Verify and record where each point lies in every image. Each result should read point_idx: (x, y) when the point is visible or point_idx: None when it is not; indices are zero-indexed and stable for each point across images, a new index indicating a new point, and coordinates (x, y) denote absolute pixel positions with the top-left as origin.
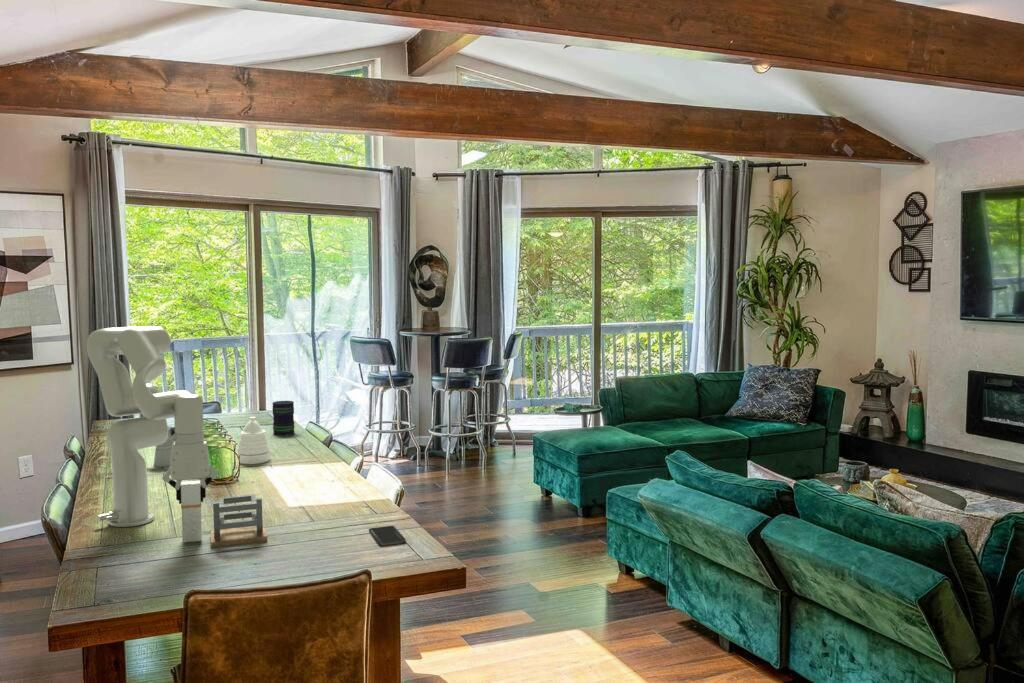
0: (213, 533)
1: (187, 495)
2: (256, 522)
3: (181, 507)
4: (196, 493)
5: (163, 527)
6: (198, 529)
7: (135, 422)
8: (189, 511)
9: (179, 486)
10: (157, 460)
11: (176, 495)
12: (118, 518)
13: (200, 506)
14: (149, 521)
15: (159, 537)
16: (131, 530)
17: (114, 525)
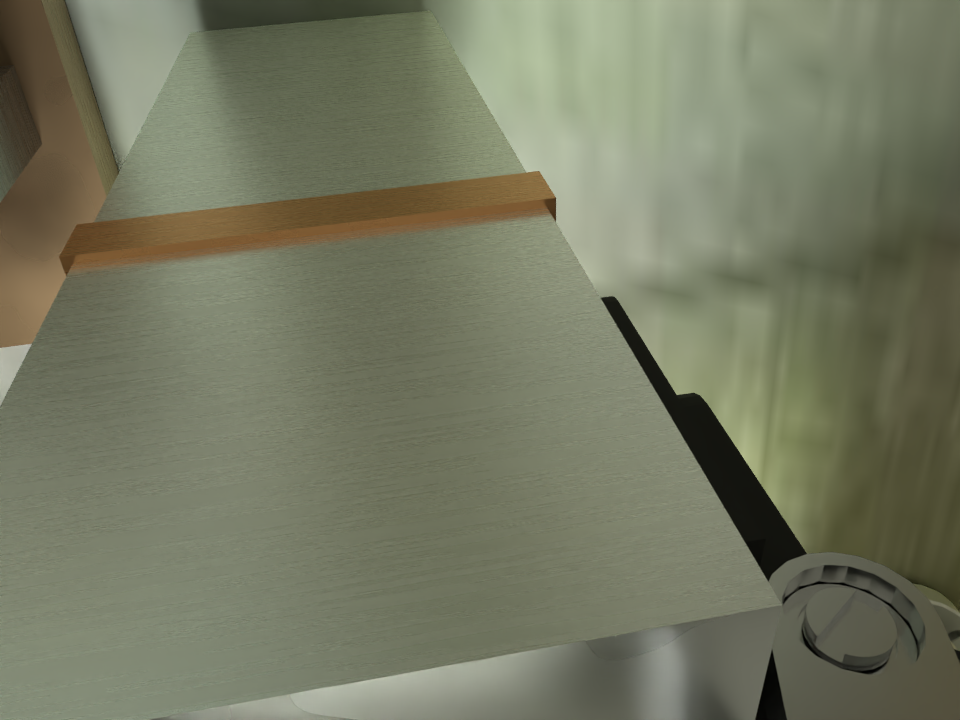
0: (79, 217)
1: (430, 373)
2: None
3: (538, 180)
4: (117, 447)
5: None
6: (211, 68)
7: None
8: (354, 170)
9: (797, 677)
10: None
11: (739, 462)
12: (952, 643)
13: (89, 231)
14: None
15: (668, 339)
16: (851, 524)
17: (946, 599)
